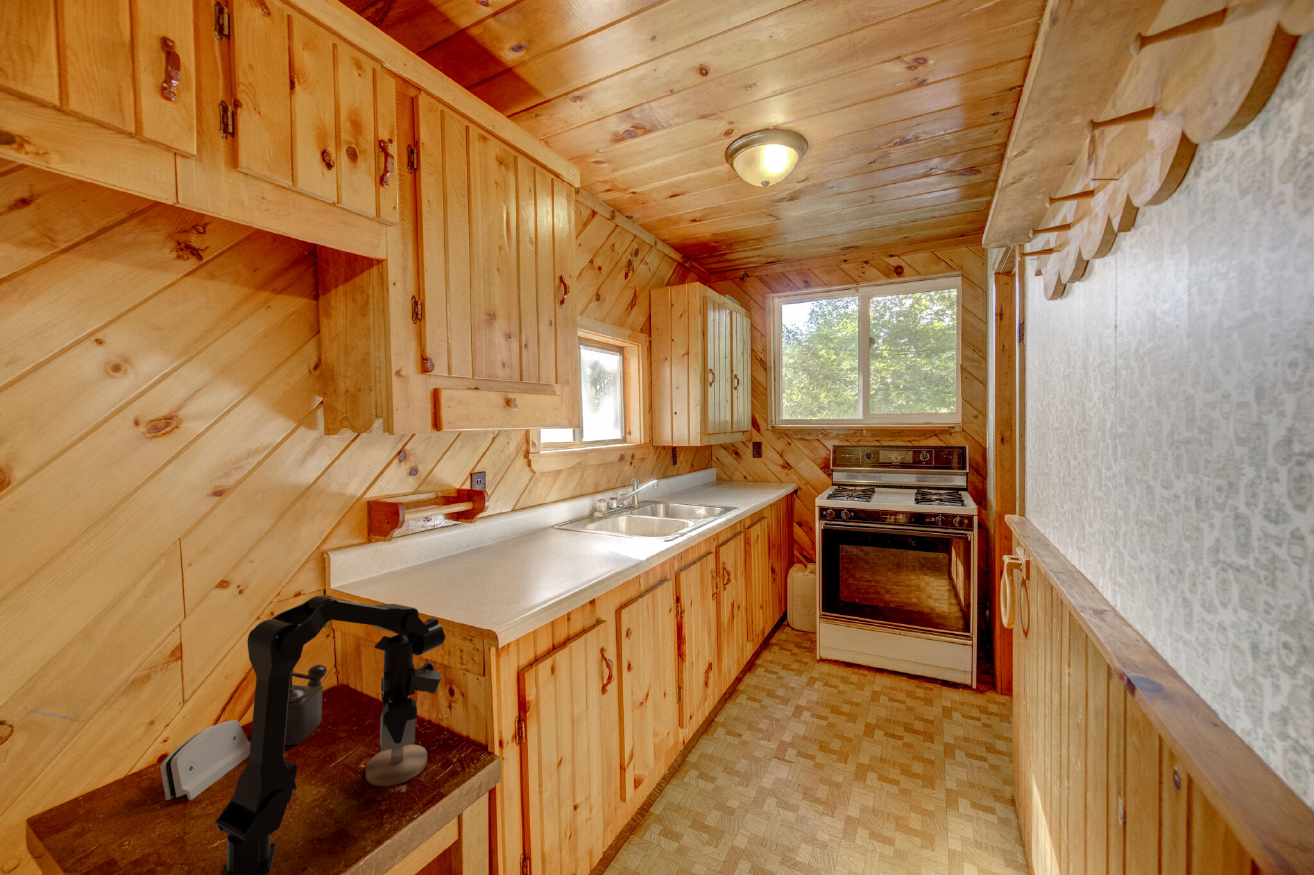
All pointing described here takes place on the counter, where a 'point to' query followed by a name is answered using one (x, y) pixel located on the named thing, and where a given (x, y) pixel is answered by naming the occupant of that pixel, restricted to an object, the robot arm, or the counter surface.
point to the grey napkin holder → (204, 759)
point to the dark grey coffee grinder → (304, 705)
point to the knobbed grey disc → (396, 765)
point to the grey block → (407, 737)
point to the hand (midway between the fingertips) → (397, 735)
